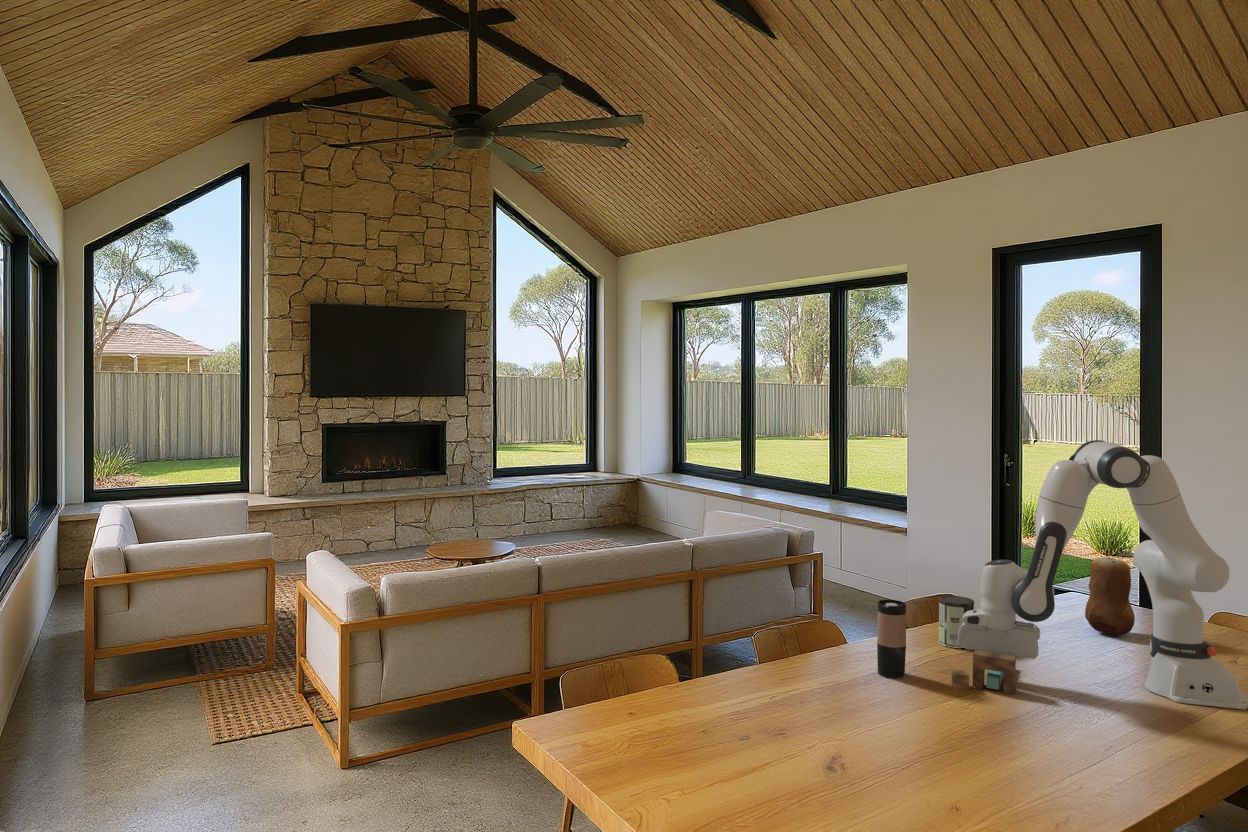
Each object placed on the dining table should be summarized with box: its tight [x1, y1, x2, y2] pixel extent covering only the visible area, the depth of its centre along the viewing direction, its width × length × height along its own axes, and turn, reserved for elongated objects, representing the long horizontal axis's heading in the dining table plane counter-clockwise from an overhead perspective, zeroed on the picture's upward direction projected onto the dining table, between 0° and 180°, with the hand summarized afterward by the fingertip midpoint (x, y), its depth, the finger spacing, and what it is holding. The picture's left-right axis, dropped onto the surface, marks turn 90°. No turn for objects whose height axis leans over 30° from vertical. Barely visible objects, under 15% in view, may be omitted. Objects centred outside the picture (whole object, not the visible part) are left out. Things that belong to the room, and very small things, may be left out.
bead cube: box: [950, 669, 970, 691], centre depth 216 cm, size 4×4×4 cm
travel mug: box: [876, 599, 907, 679], centre depth 225 cm, size 8×8×20 cm
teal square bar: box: [985, 670, 1004, 691], centre depth 222 cm, size 3×22×3 cm, turn 150°
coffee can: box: [938, 595, 975, 649], centre depth 252 cm, size 10×10×14 cm
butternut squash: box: [1084, 556, 1136, 638], centre depth 263 cm, size 14×13×25 cm
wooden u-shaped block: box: [972, 650, 1017, 695], centre depth 214 cm, size 10×4×9 cm, turn 60°
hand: (996, 668), depth 223 cm, fingers closed on teal square bar, 3 cm apart
